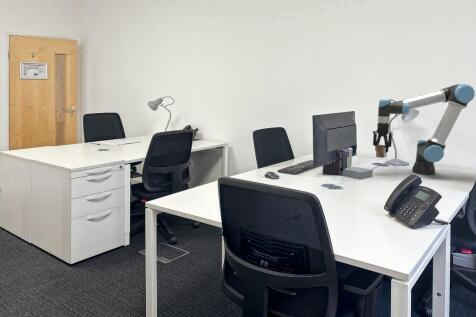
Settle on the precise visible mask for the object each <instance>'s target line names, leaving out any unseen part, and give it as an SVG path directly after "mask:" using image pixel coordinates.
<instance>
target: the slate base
mask: <svg viewBox="0 0 476 317" xmlns="http://www.w3.org/2000/svg"><path fill="white" fill-rule="evenodd" d="M373 170H374V169H370V168H364V167H360V166H351V167H350V168H345V169H343V170H342V173H341V174H342V176H343V177H347V178H353V179H358V180H364V179H367V178H372V177H373V175H374V174H373V173H374V171H373Z"/></svg>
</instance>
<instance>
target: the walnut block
mask: <svg viewBox="0 0 476 317" xmlns="http://www.w3.org/2000/svg"><path fill="white" fill-rule="evenodd" d="M384 148H385V144H379V145H377V149H376V151H375V158H382V159H384V158H385V157H384Z"/></svg>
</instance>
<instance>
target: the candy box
mask: <svg viewBox="0 0 476 317" xmlns="http://www.w3.org/2000/svg"><path fill="white" fill-rule="evenodd" d="M348 149H349V157H348V161H347V164H348V168H350V167H352V162H353V160H352V159H353V150H354V149H353V148H352V147H350V148H348Z"/></svg>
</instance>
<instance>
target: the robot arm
mask: <svg viewBox="0 0 476 317" xmlns="http://www.w3.org/2000/svg"><path fill="white" fill-rule="evenodd" d="M475 95H476V91H475V90H474V87H472V85H470V84H467V83H462V84H461V83H457V84H454V85H450V86H447V87H444V88H440V90H438V91H435V92H431V93H425V94H422V95H419V96H415V97H410V98H406V99H402V100H397V101H393V102H392V101H391V99H380V100H379V102H378V108H377V109H378V113H377V114H378V115H377V127H376V128H377V129H376V130H373V131H372V133H373V137H372V146H374V147H375V148H374V150H375V152H376V149H377V145H380V143H381V139H382V138H383V141H384V145H385V148H384V158H387V157H388V156H387V155H388V152H389V148H390V147H392V143H393V142H392V139H393V138H392V137H393V134H394V133H393V132H392V131H390V116H391V115H408V114H409V113H410V110H414V109H417V108H421V107H427V106H429V105H430V106H431V105H433V104H439V103H448V105H447V107H446V109H445V111H444V113H443V115H442V117H441V119H440V121H439V123H438V125H437V127H436V128H435V131H434V133H433V135H432V137H430V138H428V139H427V140H425V139H424V140H422V139H420V140H418V141H417V144H416V146H417V147H416V153H415V162H414V164H413V166H412V169H411V170H412V171H411V172H412V173H413V174H414V173H415V174H419V175H435V174H436V167H435V164H434V163H437V162H441V160H442V159H443V158H444V156H445V148H446V141H447V139H448V138H449V136H450V133H452V130H453V128H454V126H455V124H456V122H457V120H458V118H459V116H460V114H461V112H462V110H463V109H466V108H467V107H468V106H467V105H468V104H469V103H470V102H471V101H473V100H474V97H475Z"/></svg>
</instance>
